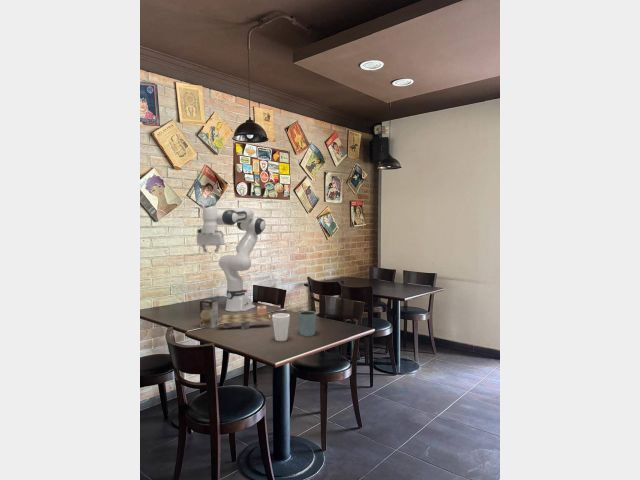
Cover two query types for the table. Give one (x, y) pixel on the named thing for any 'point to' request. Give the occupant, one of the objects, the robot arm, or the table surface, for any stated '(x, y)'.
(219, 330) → the table surface
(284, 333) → the foam cup
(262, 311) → the rider
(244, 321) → the beam
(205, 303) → the coffee box
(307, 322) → the teal cup
